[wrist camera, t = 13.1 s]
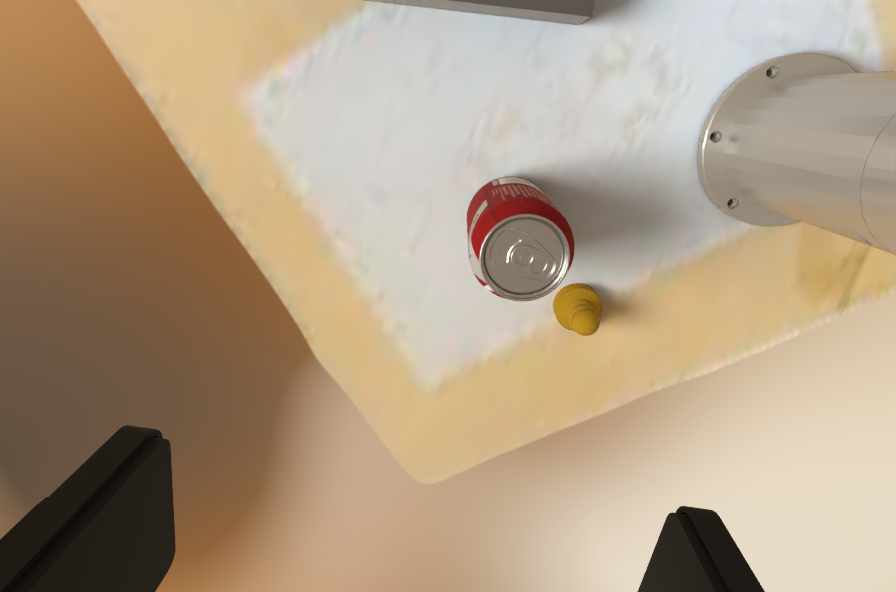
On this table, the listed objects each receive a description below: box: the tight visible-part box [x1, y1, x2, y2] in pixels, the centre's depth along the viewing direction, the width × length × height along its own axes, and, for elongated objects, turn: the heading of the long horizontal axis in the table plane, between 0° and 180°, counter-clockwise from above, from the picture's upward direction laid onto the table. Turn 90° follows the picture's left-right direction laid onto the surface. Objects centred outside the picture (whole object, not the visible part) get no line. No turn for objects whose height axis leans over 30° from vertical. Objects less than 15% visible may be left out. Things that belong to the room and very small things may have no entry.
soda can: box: [467, 177, 574, 301], centre depth 37 cm, size 7×7×12 cm
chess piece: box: [553, 283, 602, 336], centre depth 43 cm, size 4×4×5 cm
